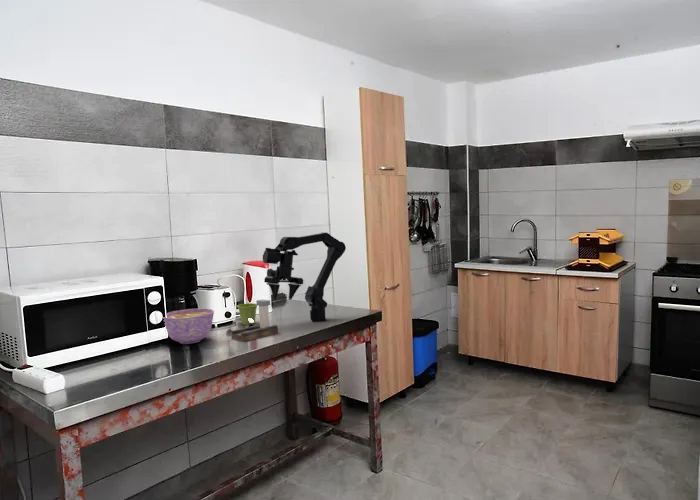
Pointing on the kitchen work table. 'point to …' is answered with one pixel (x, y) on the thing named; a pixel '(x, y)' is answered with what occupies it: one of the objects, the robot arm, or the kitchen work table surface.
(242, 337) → the rail
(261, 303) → the fader tab
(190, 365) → the kitchen work table surface
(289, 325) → the kitchen work table surface
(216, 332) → the kitchen work table surface
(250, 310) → the plant pot
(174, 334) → the bowl of food
